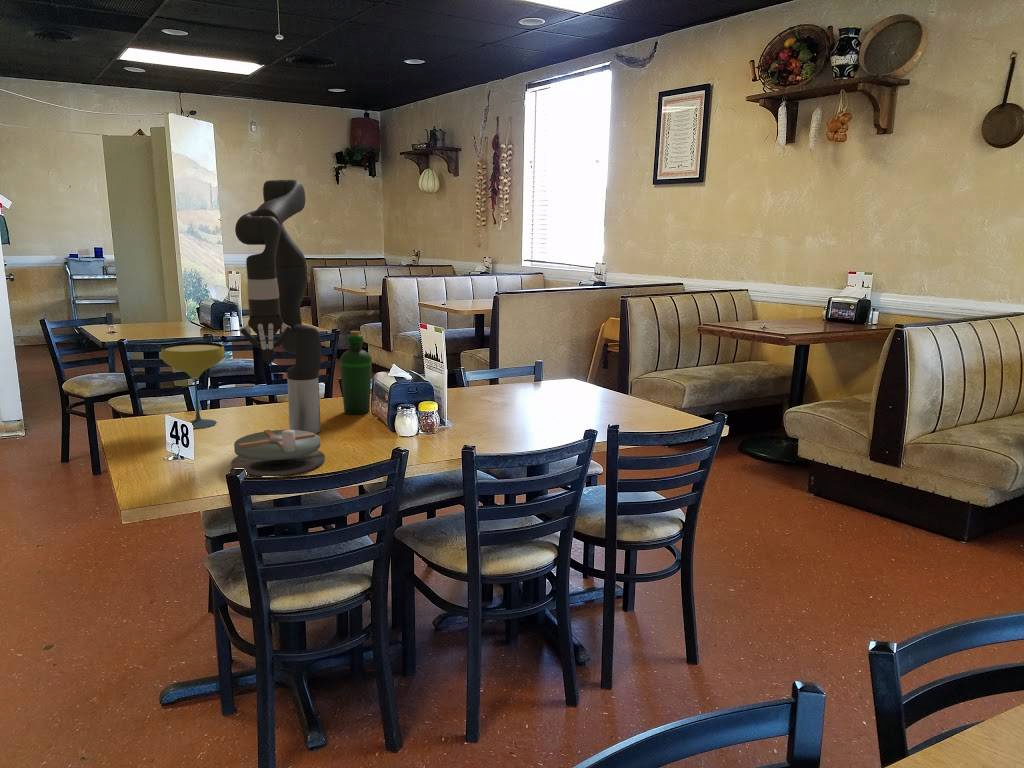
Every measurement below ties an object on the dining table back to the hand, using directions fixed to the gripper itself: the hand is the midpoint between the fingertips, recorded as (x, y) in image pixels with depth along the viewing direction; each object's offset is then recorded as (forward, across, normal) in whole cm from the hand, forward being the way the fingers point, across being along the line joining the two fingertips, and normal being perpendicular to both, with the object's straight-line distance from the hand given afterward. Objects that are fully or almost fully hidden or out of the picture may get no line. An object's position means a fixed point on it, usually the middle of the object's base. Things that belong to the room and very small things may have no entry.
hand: (268, 362), depth 190 cm
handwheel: (+23, +1, 0) cm, 23 cm away
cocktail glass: (+28, -24, +46) cm, 59 cm away
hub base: (+28, +1, 0) cm, 28 cm away
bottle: (+30, +26, +51) cm, 64 cm away
